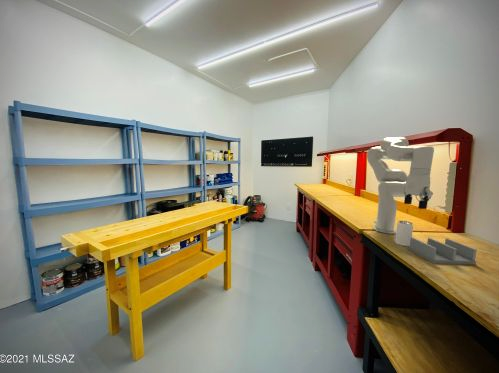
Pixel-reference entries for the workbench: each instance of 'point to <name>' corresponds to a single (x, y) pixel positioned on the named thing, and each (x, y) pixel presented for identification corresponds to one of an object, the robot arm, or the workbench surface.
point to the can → (404, 233)
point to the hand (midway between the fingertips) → (414, 206)
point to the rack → (443, 251)
